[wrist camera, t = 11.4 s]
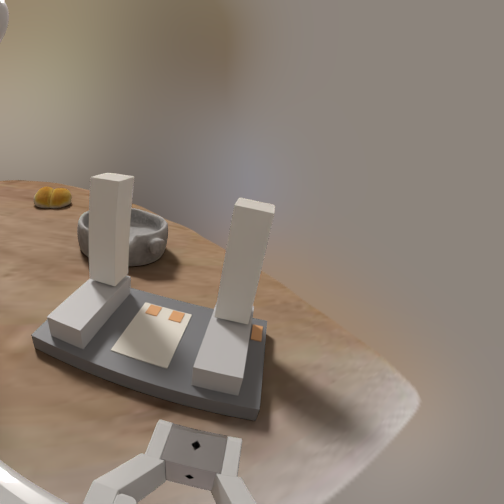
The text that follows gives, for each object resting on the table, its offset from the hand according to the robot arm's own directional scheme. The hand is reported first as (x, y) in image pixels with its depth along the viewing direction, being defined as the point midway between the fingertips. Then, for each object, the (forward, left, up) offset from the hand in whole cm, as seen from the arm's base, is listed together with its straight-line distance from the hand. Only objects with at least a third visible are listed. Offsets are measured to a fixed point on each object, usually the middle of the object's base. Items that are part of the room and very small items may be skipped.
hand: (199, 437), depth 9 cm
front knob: (-13, +11, -5) cm, 18 cm away
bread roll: (-63, -5, -10) cm, 64 cm away
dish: (-37, +6, -10) cm, 39 cm away
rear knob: (-22, +1, -5) cm, 23 cm away
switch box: (-15, +4, -9) cm, 18 cm away
